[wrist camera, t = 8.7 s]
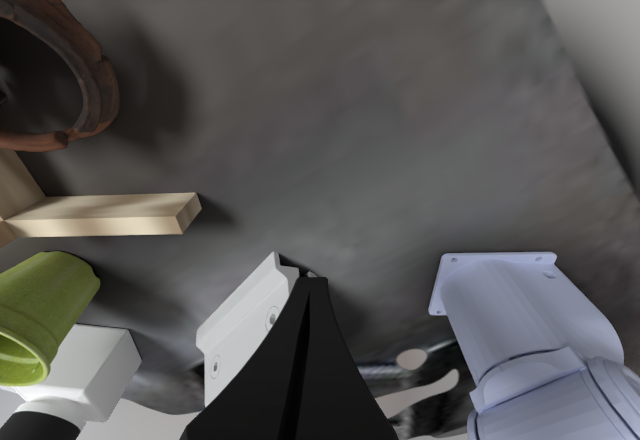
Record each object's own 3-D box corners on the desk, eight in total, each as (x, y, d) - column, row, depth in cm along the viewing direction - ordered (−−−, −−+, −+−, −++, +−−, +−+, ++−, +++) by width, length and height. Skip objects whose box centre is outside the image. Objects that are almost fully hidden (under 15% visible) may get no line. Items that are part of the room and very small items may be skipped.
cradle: (89, -124, 13) (-30, -203, 9) (201, 208, 23) (172, 247, 18) (-183, -95, 14) (-412, -155, 9) (40, 212, 23) (-23, 250, 19)
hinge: (275, 248, 25) (293, 366, 18) (315, 261, 27) (343, 367, 21) (195, 331, 32) (186, 436, 25) (232, 334, 35) (233, 430, 28)
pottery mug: (-19, -121, 13) (-105, -132, 8) (156, 57, 21) (164, 105, 16) (-171, 39, 15) (-322, 110, 10) (45, 151, 22) (21, 223, 17)
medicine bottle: (67, 321, 32) (-53, 449, 22) (129, 328, 32) (38, 457, 22) (88, 355, 36) (-6, 476, 26) (143, 360, 36) (71, 483, 26)
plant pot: (22, 216, 24) (-113, 294, 17) (131, 268, 27) (57, 353, 20) (10, 275, 28) (-101, 357, 21) (105, 314, 31) (36, 398, 24)
